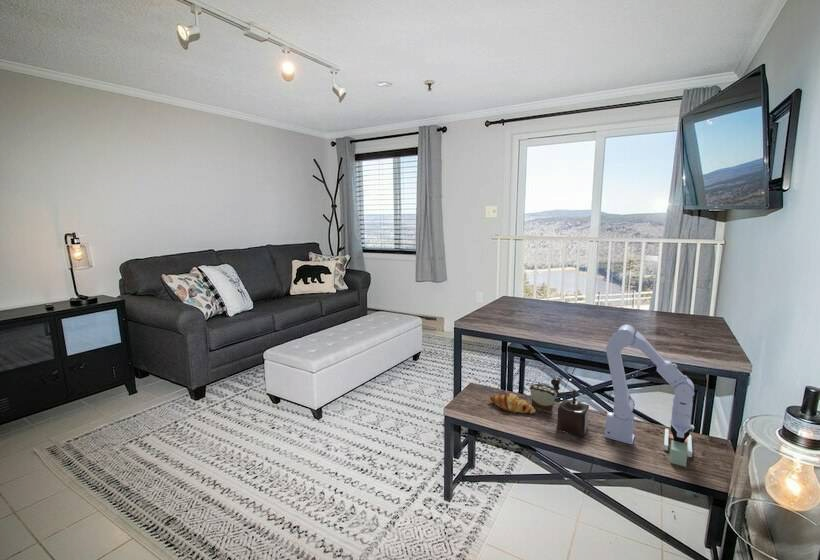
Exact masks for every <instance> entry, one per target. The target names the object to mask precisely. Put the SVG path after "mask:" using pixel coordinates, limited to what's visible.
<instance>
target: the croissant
mask: <svg viewBox="0 0 820 560" xmlns="http://www.w3.org/2000/svg"><path fill="white" fill-rule="evenodd" d="M489 399H490V401H491V402H492V403H493V404H494V405H495V406H496V405H497V406H496V407H498V408H500V409H501V408H502V409H501V410H504V409H505V410H504V411H507V410H508V411H507V412H510V411H511V412H510V413H516V412H518V413H520V414H529V413H530V414H535V413H536V412H537V411H536V408H534V407H533V406H532V405H531V403H529V402H528V401H527V400H526V399H524V398H520V397H519V396H518V395H517V394H514V393H511V392H507V393H506V394H501V395H493V396H491V395H490V397H489Z"/></svg>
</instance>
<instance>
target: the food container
mask: <svg viewBox="0 0 820 560" xmlns="http://www.w3.org/2000/svg"><path fill="white" fill-rule="evenodd" d="M553 388H554V386H553V385H552V386H551V385H548V384H544V383H533V384H530V386H529V389H528V390H530V402H531V403H530V404H531V405H532V406H533V407H535V408H534V409H537V410H541V411H543V410H544V412H546V411H547V412H546V413H549V412H550V413H549V414H553V412H554V405H555V399H556V398H557V396H558V394H557V393H556V390H554V389H553Z"/></svg>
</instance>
